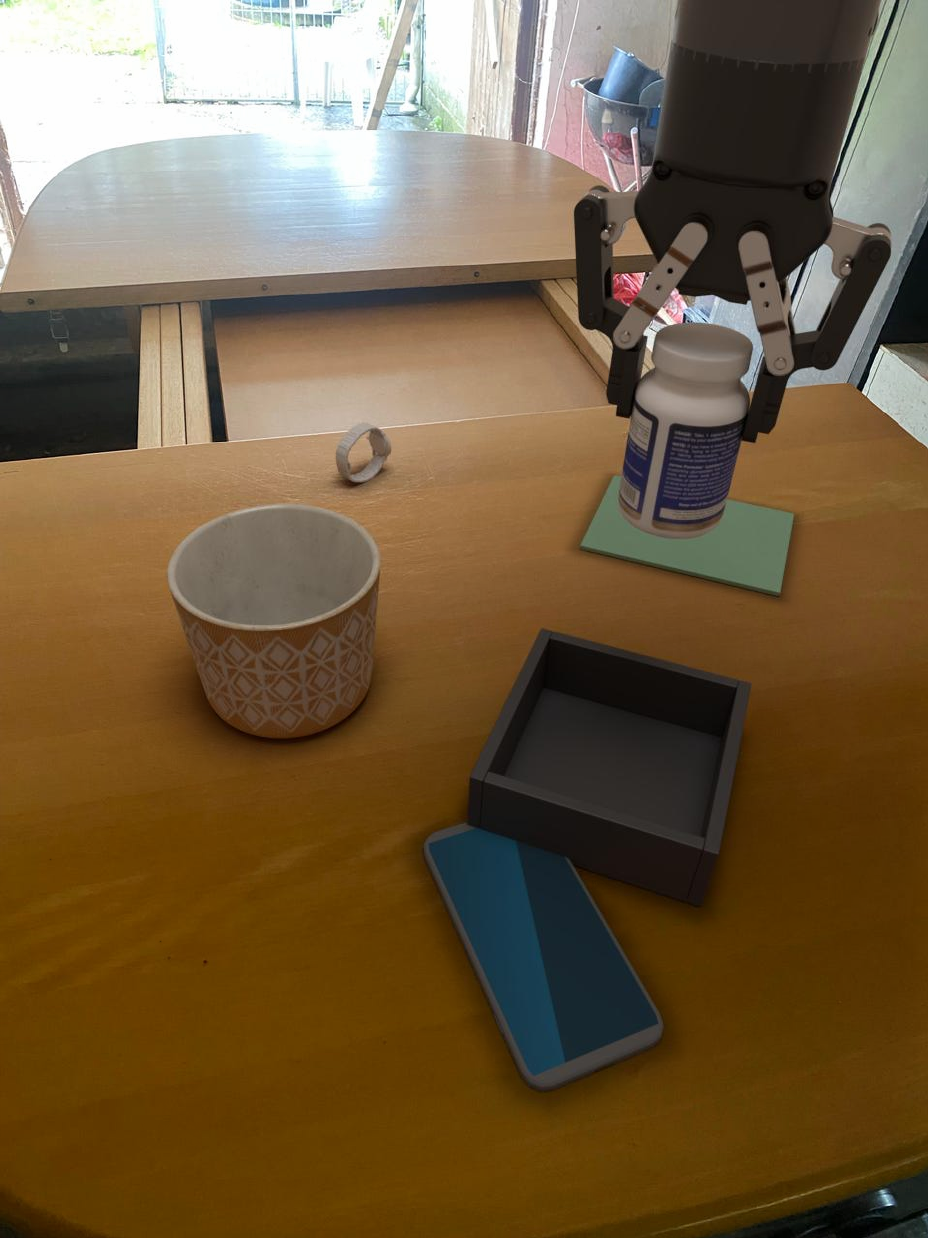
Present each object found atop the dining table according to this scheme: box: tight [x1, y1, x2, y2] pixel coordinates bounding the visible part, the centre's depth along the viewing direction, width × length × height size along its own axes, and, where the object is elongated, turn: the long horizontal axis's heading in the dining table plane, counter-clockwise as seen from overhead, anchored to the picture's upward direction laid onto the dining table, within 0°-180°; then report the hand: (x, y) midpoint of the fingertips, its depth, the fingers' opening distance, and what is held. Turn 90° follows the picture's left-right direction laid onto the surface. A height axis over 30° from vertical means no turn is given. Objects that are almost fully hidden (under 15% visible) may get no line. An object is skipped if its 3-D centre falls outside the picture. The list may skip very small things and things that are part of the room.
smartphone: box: [422, 821, 665, 1093], centre depth 48 cm, size 8×15×1 cm, turn 22°
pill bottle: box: [618, 321, 754, 539], centre depth 47 cm, size 6×6×10 cm
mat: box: [579, 474, 795, 597], centre depth 77 cm, size 16×12×1 cm
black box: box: [466, 627, 753, 908], centre depth 55 cm, size 14×14×5 cm
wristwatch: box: [335, 421, 392, 483], centre depth 81 cm, size 3×5×5 cm, turn 139°
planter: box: [166, 503, 382, 739], centre depth 59 cm, size 13×13×10 cm
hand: (687, 422), depth 47 cm, fingers closed on pill bottle, 5 cm apart
